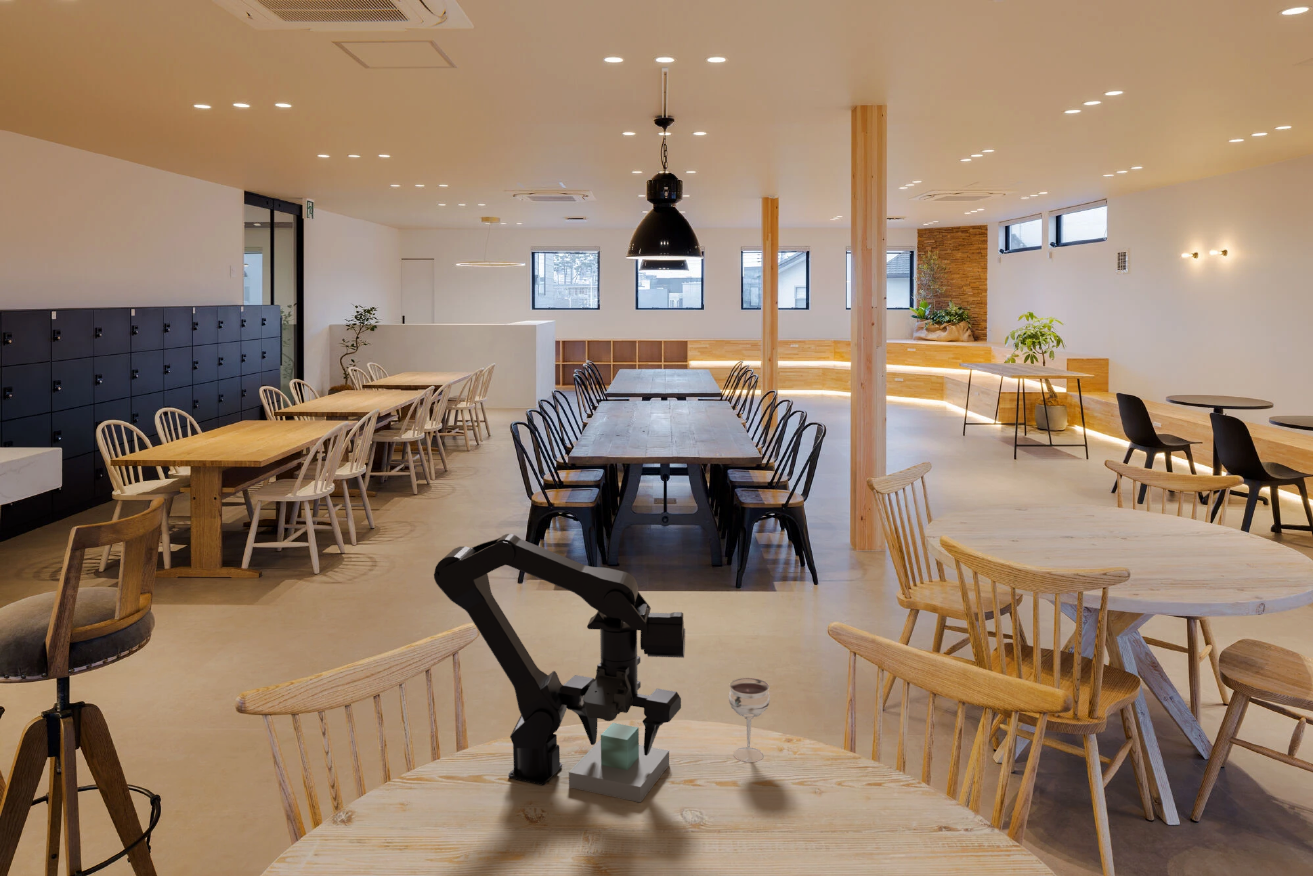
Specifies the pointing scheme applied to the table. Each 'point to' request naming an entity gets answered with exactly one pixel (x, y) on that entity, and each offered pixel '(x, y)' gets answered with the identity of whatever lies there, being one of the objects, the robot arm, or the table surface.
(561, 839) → the table surface
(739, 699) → the wineglass
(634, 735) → the teal block
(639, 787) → the plinth
